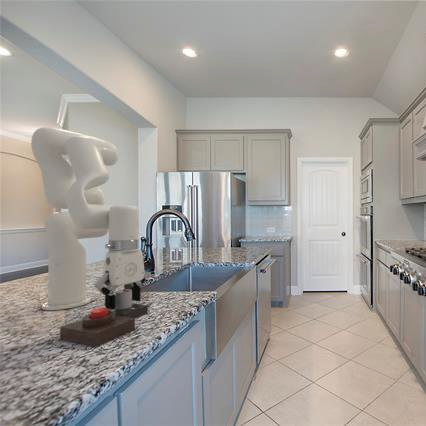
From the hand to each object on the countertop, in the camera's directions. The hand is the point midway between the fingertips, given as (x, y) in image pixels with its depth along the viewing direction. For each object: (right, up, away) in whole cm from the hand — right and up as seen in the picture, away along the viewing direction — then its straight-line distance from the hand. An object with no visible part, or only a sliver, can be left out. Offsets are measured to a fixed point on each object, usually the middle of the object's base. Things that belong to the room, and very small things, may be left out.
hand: (123, 303), depth 86 cm
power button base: (+3, -4, -14) cm, 14 cm away
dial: (0, -1, 0) cm, 1 cm away
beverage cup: (-11, -4, +20) cm, 23 cm away
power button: (+3, +1, -14) cm, 14 cm away
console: (0, -4, 0) cm, 4 cm away
